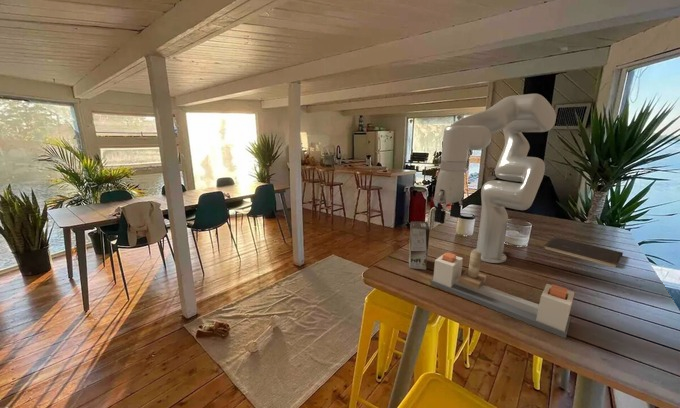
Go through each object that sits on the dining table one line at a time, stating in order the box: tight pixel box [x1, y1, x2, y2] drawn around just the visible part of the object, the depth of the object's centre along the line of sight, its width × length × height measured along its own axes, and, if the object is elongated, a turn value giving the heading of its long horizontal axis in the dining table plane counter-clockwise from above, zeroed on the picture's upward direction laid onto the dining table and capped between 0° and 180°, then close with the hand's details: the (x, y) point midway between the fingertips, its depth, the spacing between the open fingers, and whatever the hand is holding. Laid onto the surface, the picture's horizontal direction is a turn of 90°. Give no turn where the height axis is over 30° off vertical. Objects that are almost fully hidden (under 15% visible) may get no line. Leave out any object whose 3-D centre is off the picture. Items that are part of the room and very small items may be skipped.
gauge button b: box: [549, 283, 569, 300], centre depth 72 cm, size 3×3×4 cm
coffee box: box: [408, 221, 431, 270], centre depth 106 cm, size 9×6×16 cm
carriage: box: [458, 250, 487, 290], centre depth 86 cm, size 7×6×10 cm
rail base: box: [430, 253, 575, 339], centre depth 83 cm, size 9×36×9 cm, turn 45°
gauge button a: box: [442, 251, 457, 263], centre depth 91 cm, size 3×3×4 cm
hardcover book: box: [544, 236, 624, 268], centre depth 117 cm, size 16×23×2 cm
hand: (447, 219), depth 89 cm, fingers open, 9 cm apart
